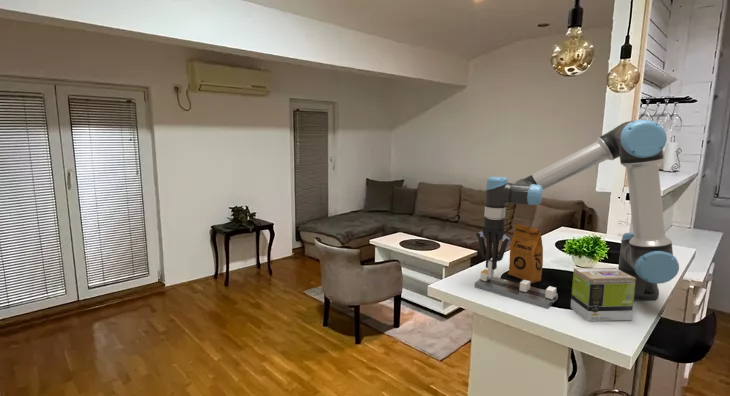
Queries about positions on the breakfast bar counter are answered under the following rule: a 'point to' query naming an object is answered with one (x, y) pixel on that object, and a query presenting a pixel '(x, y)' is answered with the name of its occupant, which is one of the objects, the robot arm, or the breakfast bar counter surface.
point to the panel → (516, 291)
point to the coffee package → (526, 254)
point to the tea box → (602, 294)
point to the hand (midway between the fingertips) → (490, 276)
